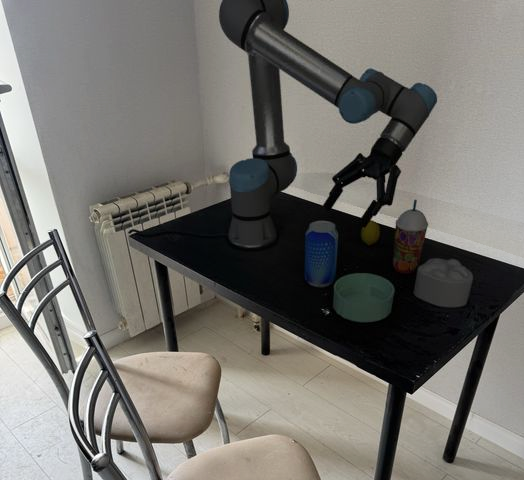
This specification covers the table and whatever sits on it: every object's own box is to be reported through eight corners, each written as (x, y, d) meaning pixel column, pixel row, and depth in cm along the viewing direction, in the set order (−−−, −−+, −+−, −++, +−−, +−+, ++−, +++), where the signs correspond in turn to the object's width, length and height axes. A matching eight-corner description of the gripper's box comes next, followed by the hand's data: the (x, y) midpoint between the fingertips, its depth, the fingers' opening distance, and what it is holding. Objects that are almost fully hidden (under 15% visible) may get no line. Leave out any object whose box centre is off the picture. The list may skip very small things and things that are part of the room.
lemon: (377, 241, 155) (380, 216, 150) (379, 249, 150) (382, 224, 146) (359, 240, 155) (361, 216, 150) (360, 249, 151) (362, 224, 146)
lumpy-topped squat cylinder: (429, 279, 136) (435, 250, 130) (475, 296, 129) (483, 266, 123) (408, 294, 130) (413, 265, 125) (455, 313, 123) (463, 282, 117)
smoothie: (387, 274, 139) (396, 204, 126) (391, 260, 145) (401, 192, 133) (418, 278, 136) (430, 207, 124) (421, 264, 143) (434, 195, 130)
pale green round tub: (335, 323, 121) (336, 304, 118) (331, 291, 133) (332, 273, 129) (396, 323, 120) (399, 303, 117) (386, 291, 132) (389, 272, 128)
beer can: (338, 275, 139) (342, 221, 129) (331, 290, 133) (334, 234, 123) (309, 271, 141) (310, 217, 132) (301, 286, 135) (301, 231, 125)
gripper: (435, 165, 122) (384, 239, 125) (363, 142, 139) (319, 208, 141) (424, 147, 117) (371, 225, 119) (350, 126, 133) (305, 195, 136)
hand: (343, 216), depth 130 cm, fingers open, 13 cm apart
